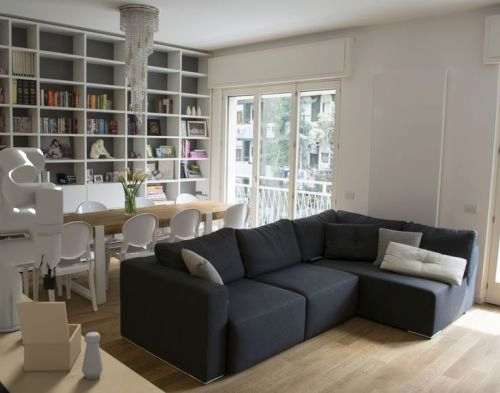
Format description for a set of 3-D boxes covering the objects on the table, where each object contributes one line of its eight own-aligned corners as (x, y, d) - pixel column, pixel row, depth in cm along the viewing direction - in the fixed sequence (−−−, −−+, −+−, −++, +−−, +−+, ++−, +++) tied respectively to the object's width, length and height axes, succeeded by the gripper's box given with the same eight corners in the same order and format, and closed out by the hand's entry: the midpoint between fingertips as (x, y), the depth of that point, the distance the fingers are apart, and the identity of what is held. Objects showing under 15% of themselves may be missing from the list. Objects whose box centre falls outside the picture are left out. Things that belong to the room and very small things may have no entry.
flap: (16, 301, 135) (15, 303, 134) (65, 301, 136) (64, 303, 136) (23, 342, 142) (23, 343, 141) (70, 342, 143) (69, 343, 143)
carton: (39, 351, 157) (38, 324, 156) (81, 350, 158) (81, 324, 157) (24, 372, 143) (23, 343, 142) (70, 371, 144) (70, 342, 143)
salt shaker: (96, 382, 139) (96, 338, 137) (78, 379, 140) (77, 336, 138) (106, 372, 144) (106, 330, 143) (88, 370, 146) (88, 328, 144)
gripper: (44, 222, 149) (44, 280, 151) (27, 233, 134) (27, 297, 137) (69, 223, 150) (69, 281, 152) (55, 234, 135) (55, 297, 138)
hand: (49, 288), depth 144 cm, fingers closed
